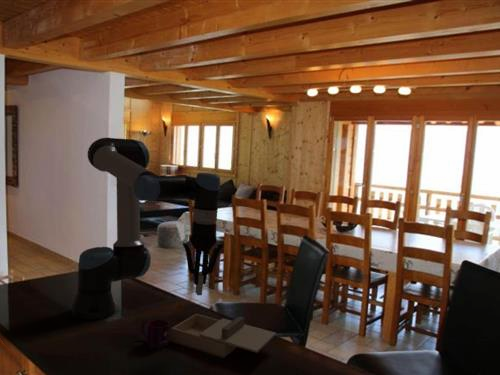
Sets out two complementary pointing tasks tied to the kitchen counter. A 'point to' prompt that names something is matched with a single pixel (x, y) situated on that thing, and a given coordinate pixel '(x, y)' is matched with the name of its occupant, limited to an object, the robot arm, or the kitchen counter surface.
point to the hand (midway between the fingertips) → (198, 293)
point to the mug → (157, 333)
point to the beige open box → (189, 336)
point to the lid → (238, 334)
